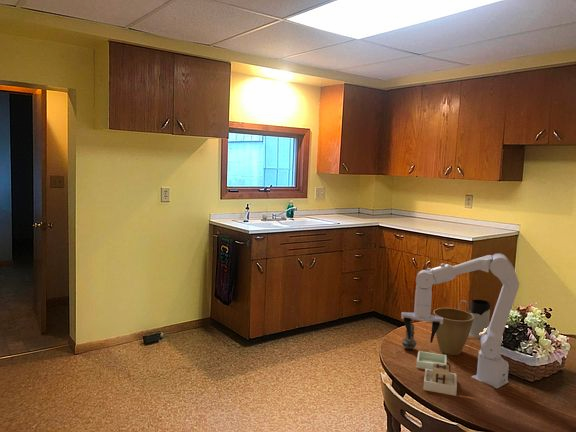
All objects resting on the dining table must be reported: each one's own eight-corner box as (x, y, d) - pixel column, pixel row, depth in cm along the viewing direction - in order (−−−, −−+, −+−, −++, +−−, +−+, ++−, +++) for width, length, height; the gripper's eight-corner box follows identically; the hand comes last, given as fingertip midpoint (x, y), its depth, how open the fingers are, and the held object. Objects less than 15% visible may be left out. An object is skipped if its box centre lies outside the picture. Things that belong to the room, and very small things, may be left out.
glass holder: (483, 340, 199) (486, 306, 197) (452, 330, 209) (455, 298, 207) (492, 335, 205) (495, 302, 203) (462, 326, 215) (464, 295, 213)
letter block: (432, 379, 159) (433, 362, 159) (447, 382, 158) (449, 364, 157) (431, 386, 154) (433, 368, 154) (447, 388, 153) (449, 371, 152)
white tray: (455, 382, 159) (456, 373, 159) (456, 395, 150) (456, 386, 149) (424, 376, 163) (425, 368, 162) (423, 389, 153) (423, 381, 153)
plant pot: (423, 351, 185) (426, 312, 183) (443, 342, 195) (446, 305, 193) (458, 364, 174) (461, 322, 172) (477, 354, 184) (480, 315, 182)
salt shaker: (416, 353, 182) (418, 324, 181) (401, 352, 183) (403, 322, 182) (415, 348, 188) (417, 319, 186) (400, 346, 189) (402, 318, 188)
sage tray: (445, 362, 175) (446, 355, 174) (445, 374, 165) (446, 366, 165) (417, 358, 178) (418, 350, 178) (416, 369, 168) (416, 361, 168)
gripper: (401, 304, 166) (398, 340, 167) (444, 309, 161) (441, 347, 163) (403, 298, 172) (400, 334, 174) (444, 303, 168) (441, 340, 169)
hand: (420, 339), depth 169 cm, fingers open, 7 cm apart
